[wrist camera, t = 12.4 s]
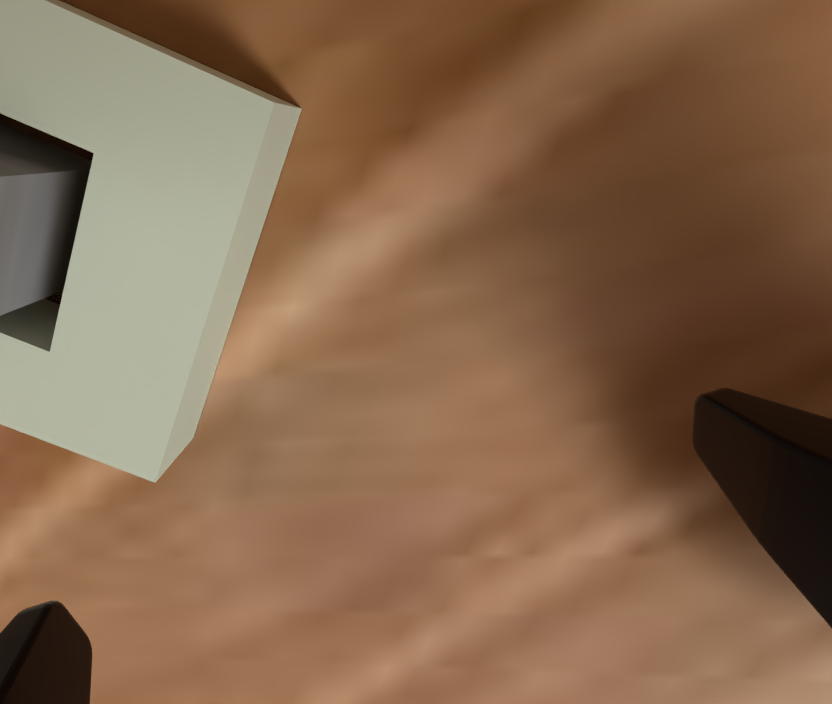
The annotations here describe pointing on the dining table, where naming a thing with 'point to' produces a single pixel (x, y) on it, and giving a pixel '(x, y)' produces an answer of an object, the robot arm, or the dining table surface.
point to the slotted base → (134, 233)
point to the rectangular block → (36, 216)
